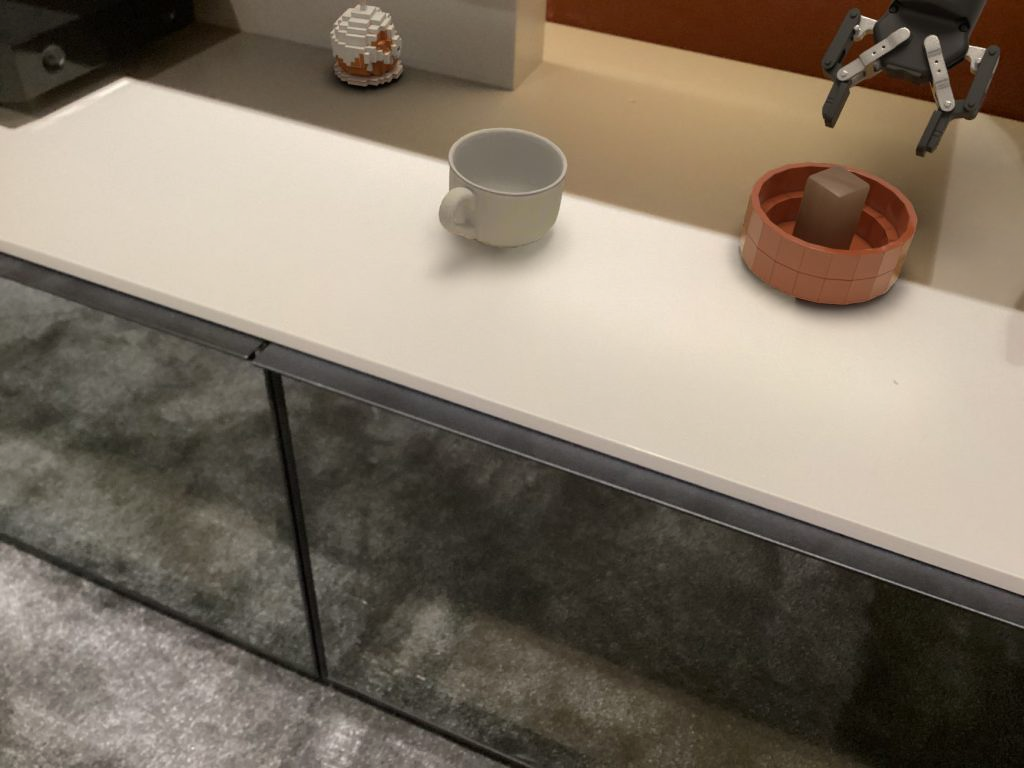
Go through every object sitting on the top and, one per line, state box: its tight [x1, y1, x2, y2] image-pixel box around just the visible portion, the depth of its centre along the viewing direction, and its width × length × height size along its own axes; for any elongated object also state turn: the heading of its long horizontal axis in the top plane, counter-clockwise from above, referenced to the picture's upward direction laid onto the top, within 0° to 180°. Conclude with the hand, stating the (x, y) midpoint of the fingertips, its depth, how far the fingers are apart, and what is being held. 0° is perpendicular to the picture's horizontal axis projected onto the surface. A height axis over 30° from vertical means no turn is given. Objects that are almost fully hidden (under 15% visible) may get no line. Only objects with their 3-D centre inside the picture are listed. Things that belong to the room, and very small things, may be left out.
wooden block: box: [792, 165, 870, 250], centre depth 87 cm, size 4×4×8 cm
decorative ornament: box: [329, 0, 404, 87], centre depth 108 cm, size 8×8×15 cm
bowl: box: [739, 161, 918, 306], centre depth 88 cm, size 14×14×6 cm
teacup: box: [438, 127, 569, 249], centre depth 89 cm, size 14×11×8 cm
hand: (873, 139), depth 87 cm, fingers open, 8 cm apart
